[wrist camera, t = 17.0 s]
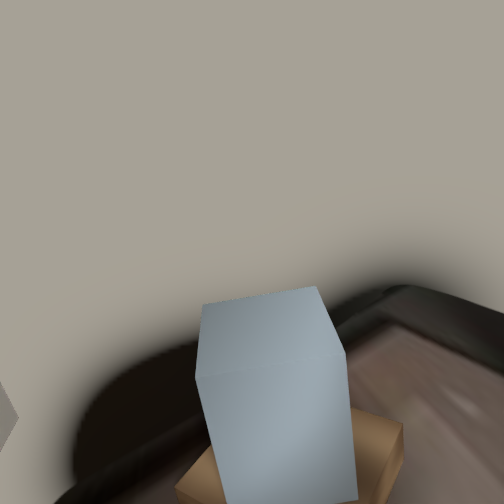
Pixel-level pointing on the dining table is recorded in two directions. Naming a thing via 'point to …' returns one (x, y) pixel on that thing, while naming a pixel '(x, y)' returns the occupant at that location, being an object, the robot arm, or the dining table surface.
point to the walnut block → (366, 461)
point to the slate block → (277, 399)
